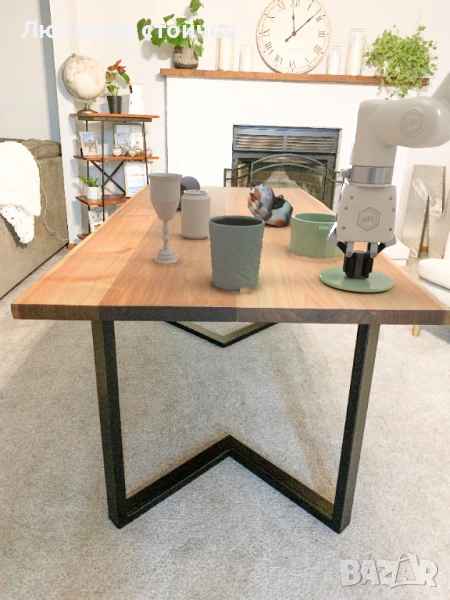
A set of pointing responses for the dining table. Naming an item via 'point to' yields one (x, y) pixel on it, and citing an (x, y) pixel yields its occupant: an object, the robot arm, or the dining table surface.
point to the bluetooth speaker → (188, 186)
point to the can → (195, 214)
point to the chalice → (165, 208)
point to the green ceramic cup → (235, 250)
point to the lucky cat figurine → (269, 206)
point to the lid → (357, 277)
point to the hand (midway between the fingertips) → (356, 275)
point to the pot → (312, 235)
